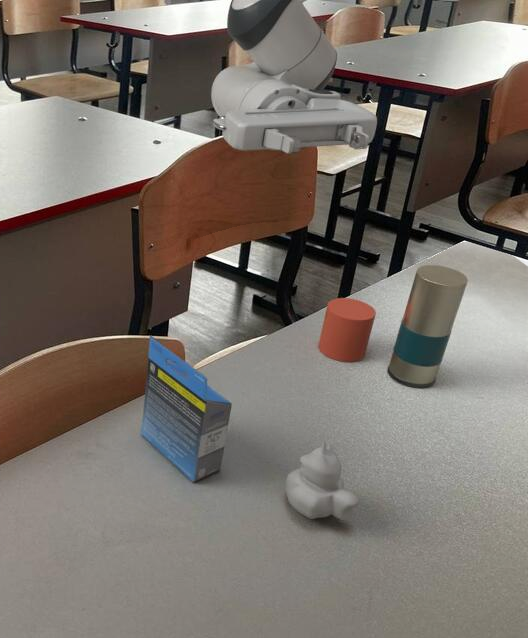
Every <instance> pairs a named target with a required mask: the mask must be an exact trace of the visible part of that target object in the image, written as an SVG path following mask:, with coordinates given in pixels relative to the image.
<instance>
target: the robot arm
mask: <svg viewBox="0 0 528 638" xmlns="http://www.w3.org/2000/svg"><path fill="white" fill-rule="evenodd" d="M306 1H307V0H231V2H230V4H229V7H228V13H227V19H226V21H227V22H226V28H227V31H226V32H227V35H228V36H229V37H230V38H231V39H232V40H233V41H234V43H236V44H237V45H238V46H239V47H240V48H241V49H242V50H243V51H244V52H245V53H246V54H247V55H248V56H249V58H250V59H251V60H252V62H250V63H247V64H244V65H233V66H228V67H226V68H224V69H223V70H221V71H220V72H219V73H218V74H217V75H216V76H215V78H214V80H213V82H212V86H211V89H210V90H211V91H210V99H211V104H212V106H213V109H214V110H215V112H216V114H217V115H218V116H219V117H218V118H214V119H213V121H212V126H213V127H215V128H216V129H217V130H220V131H222V138H223V139H224V141H225V142H226V143H227V144H228V145H229V146H230V147H232V148H233V149H234V150H238V151H243V152H247V151H262V150H270V151H282V152H284V153H285V154H297V153H299V152H300V150H301V148H315V147H332V146H348V147H349V148H351V149H353V150H366V149H367V148H368V145H369V144H370V143H372V142H373V139H374V137H375V135H376V130H377V125H378V116H377V115H376V114H375V113H373V112H372V111H370V110H368V109H366V108H364V107H362V106H360V105H358V104H356V103H354V102H353V101H349V100H345V99H342V98H341V97H342V96H341V94H340V93H339V92H337V91H334V90H327V89H325V88H326V87H327V85H328V84H329V82H330V80H331V78H332V76H333V74H334V71H335V70H336V69H335V68H336V65H337V60H338V53H337V52H338V51H337V50H336V48H335V47H334V46H333V44H332V43H331V41H330V40H329V38H328V37H327V36H326V34H325V33H324V31H323V30H322V28H321V27H320V25H318V24H317V22H316V21H315V19H314V17H312V15H311V14H310V12H309V10H308V9H307V8H306V6H305V5H304V3H305V2H306ZM439 1H440V2H459V1H460V0H438V2H439Z"/></svg>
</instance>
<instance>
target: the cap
mask: <svg viewBox="0 0 528 638" xmlns="http://www.w3.org/2000/svg"><path fill="white" fill-rule="evenodd" d="M325 310H326V311H325V314H324V319H323V322H322V323H323V324H322V328H321V332H320V336H319V339H318V346H317V347H318V350H319V351H320V352H321V353H322V354H323V356H326V357H327V358H330V359H332V360H335V361H338V362H343V363H344V362H345V363H354V362H358V361H361V360H363V359H364V357H365V356H366V352H367V349H368V345H369V342H370V341H369V340H370V337H371V334H372V329H373V326H374V323H375V318H376V315H377V312H376V310H375V308H374V307H373V306H372V305H370V304H369V303H367V302H364V301H362V300H358V299H356V298H355V299H354V298H349V297H339V298H334V299H331V300H330V301H328V303H327V306H326V309H325Z"/></svg>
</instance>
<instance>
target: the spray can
mask: <svg viewBox="0 0 528 638" xmlns="http://www.w3.org/2000/svg"><path fill="white" fill-rule="evenodd" d="M468 282H469V279H468V277H467V276H466V275H465V274H464V273H462V272H461V271H459V270H457V269H454V268H452V267H448V266H444V265H438V264H436V265H435V264H426V265H422V266H419V267H418V268H417V269H416V272H415V275H414V279H413V282H412V286H411V289H410V292H409V295H408V299H407V303H406V306H405V309H404V312H403V316H402V319H401V321H400V325H399V328H398V331H397V335H396V339H395V342H394V345H393V351H392V355H391V357H390V361H389V363H388V366H387V374H388V376H389V377H390V378H391V379H392V380H393V381H395V382H396V383H399V384H400V385H402V386H406V387H408V388H414V389H427V388H430V387H432V386H433V385H434V384H435V382H436V380H437V375H438V372H439V369H440V366H441V363H442V361H443V359H444V356H445V352H446V350H447V347H448V344H449V340H450V339H451V338H450V337H451V334H452V330H453V328H454V323H455V320H456V318H457V315H458V312H459V309H460V306H461V302H462V300H463V297H464V295H465V294H464V293H465V292H466V288H467V285H468Z"/></svg>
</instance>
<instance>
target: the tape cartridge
mask: <svg viewBox="0 0 528 638" xmlns="http://www.w3.org/2000/svg"><path fill="white" fill-rule="evenodd" d="M148 340H149V341H148V342H149V343H148V356H147V366H146V367H147V368H146V369H147V370H146V379H145V387H144V388H145V389H144V398H143V399H144V400H143V401H144V402H143V410H142V420H141V430H140V434H141V436H142V437H143V438H145V439H146V441H148V442H149V443H150V444H151V445H152V446H153V447H154V448H155V449H157V450H158V451H159V452H160V453H161V454H162V455H163V456H164V457H165V458H166V459H167V460H168V461H169V462H171V464H173V465H174V466H175V467H176V468H177V469H178V470H179V471H181V472H182V473H183V474H184V475H185V476H186V477H187V478H188V479H189V480H190V481H191V482H193V483H195V482H198V481H200V480H202V479H205V478H207V477H209V476H210V475H213V474H216V473H218V472H220V471H221V469H222V462H223V457H224V452H225V447H226V446H225V445H226V440H227V435H228V429H229V422H230V417H231V412H232V406H233V405H232V404H233V403H232V402H231V401H230V400H228V399H227V398H226V397H224V396H223V395H222V394H220V393H219V392H217V391H216V390H214V388H212V387H211V386H209V385H208V377H207V376H206V375H205V374H203V373H201V372H200V371H199V370H197V369H196V368H195V367H193V366H192V365H191V364H189V363H188V362H187V361H186V360H184V359H183V358H182V357H180V356H179V355H178V354H176V353H175V352H174V351H172V350H171V349H169V348H168V347H167V346H165V345H164V344H163V343H161V342H160V341H159V340H158V339H156V338H155V337H154V336H152V335H149V338H148Z"/></svg>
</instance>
